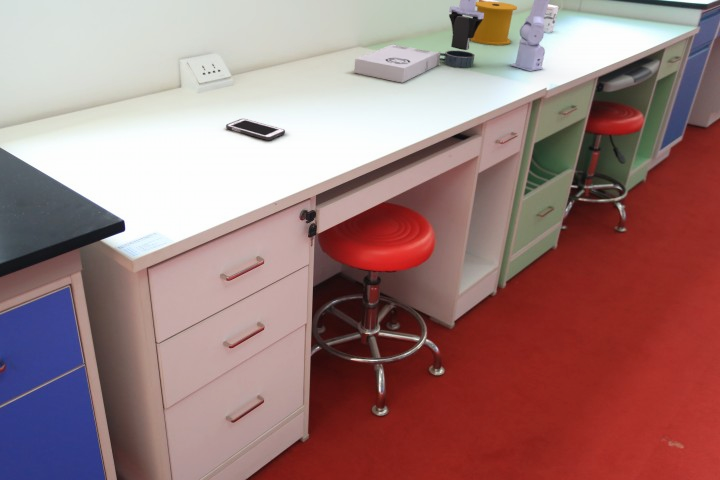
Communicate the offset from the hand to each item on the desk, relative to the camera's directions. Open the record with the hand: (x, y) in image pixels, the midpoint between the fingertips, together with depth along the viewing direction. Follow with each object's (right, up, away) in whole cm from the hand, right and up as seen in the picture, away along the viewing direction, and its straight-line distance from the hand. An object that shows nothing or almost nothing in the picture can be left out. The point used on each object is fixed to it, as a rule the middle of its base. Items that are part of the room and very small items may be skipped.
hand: (462, 35), depth 252 cm
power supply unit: (-25, -14, -6) cm, 29 cm away
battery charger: (0, -4, +2) cm, 5 cm away
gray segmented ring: (-2, -9, +6) cm, 10 cm away
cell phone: (-70, -50, -72) cm, 113 cm away
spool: (+21, +13, +46) cm, 53 cm away
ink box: (+53, +27, +72) cm, 93 cm away
